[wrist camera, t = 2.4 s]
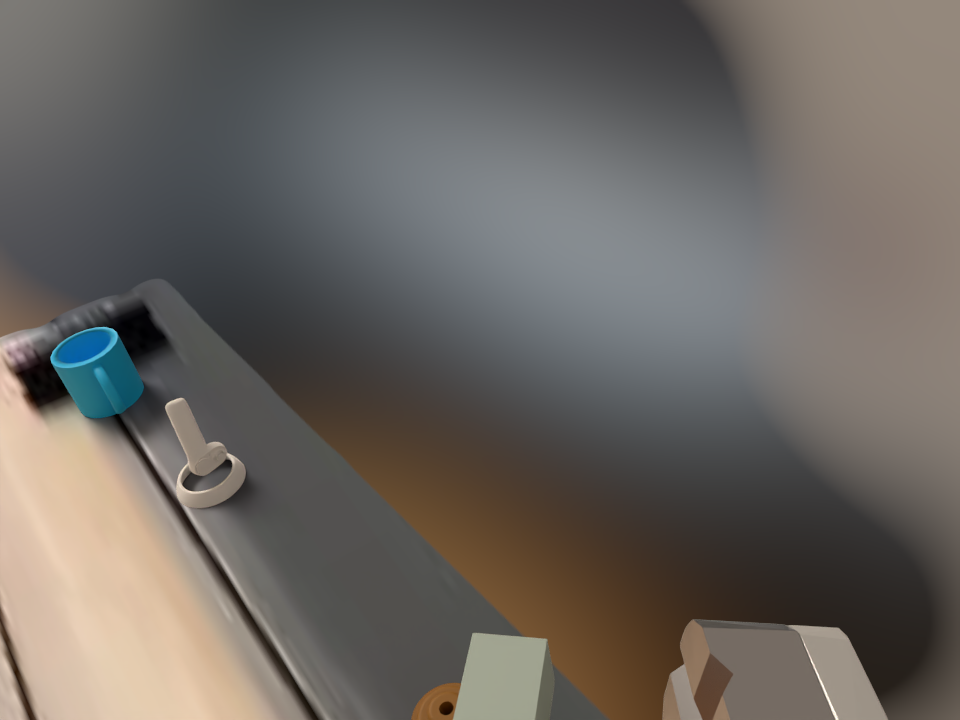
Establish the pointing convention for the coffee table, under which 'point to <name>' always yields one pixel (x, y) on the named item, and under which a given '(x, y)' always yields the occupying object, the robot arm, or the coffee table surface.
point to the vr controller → (201, 459)
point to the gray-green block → (506, 679)
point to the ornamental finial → (438, 703)
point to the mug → (98, 372)
